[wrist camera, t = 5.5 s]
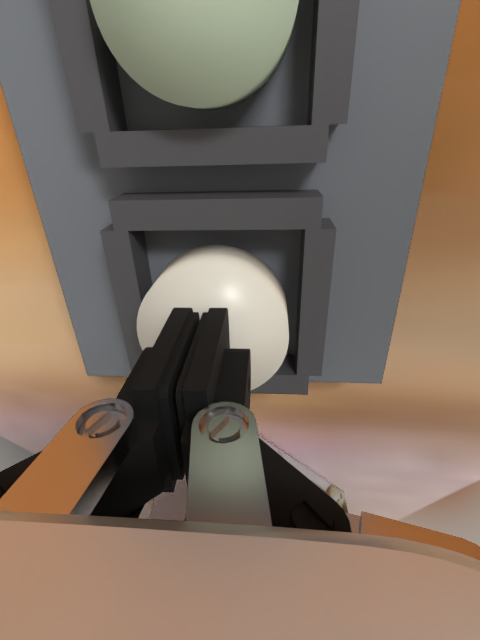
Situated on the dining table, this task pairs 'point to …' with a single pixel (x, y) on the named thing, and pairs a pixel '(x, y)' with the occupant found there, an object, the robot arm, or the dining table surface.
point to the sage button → (197, 46)
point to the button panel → (235, 174)
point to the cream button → (223, 302)
